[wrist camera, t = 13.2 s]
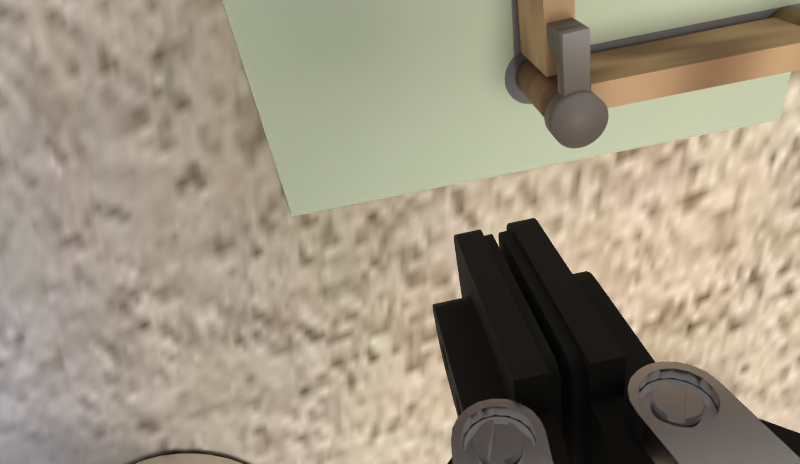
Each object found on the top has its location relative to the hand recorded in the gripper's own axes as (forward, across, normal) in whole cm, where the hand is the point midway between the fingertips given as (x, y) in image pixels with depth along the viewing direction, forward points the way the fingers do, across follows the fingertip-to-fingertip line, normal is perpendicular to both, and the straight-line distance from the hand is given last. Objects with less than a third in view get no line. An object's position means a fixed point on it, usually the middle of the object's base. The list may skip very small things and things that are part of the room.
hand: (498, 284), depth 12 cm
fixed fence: (+16, -12, +2) cm, 20 cm away
